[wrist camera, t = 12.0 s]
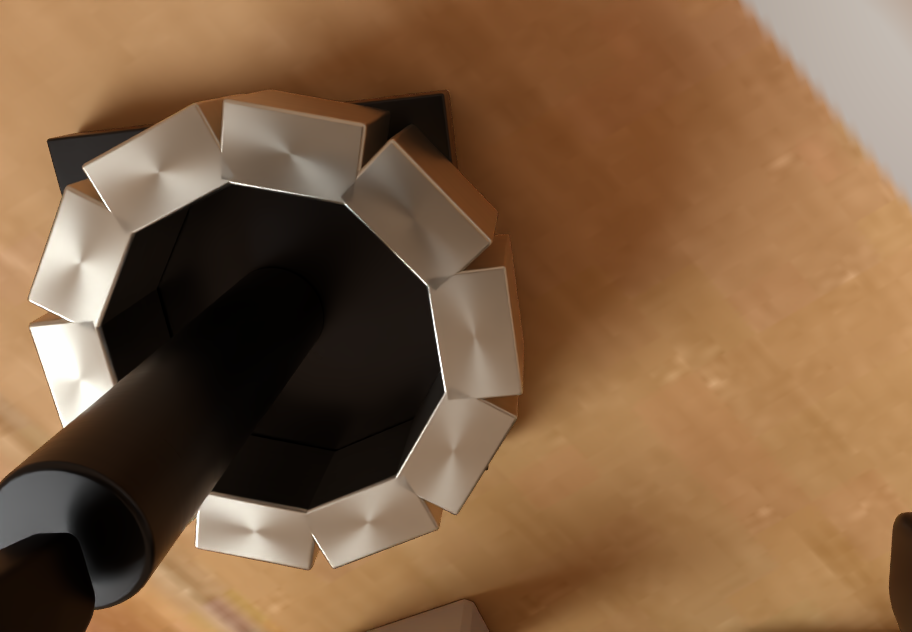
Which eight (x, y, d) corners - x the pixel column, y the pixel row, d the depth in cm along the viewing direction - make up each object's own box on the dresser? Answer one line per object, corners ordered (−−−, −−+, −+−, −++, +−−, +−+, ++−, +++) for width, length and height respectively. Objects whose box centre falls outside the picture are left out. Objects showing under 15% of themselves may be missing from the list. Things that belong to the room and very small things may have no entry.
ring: (486, 55, 15) (478, 58, 12) (543, 488, 17) (545, 555, 15) (43, 123, 16) (-38, 138, 14) (164, 519, 19) (114, 585, 16)
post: (449, 89, 16) (353, 150, 7) (490, 448, 18) (455, 801, 10) (72, 133, 17) (-394, 232, 8) (161, 469, 19) (-126, 805, 11)
